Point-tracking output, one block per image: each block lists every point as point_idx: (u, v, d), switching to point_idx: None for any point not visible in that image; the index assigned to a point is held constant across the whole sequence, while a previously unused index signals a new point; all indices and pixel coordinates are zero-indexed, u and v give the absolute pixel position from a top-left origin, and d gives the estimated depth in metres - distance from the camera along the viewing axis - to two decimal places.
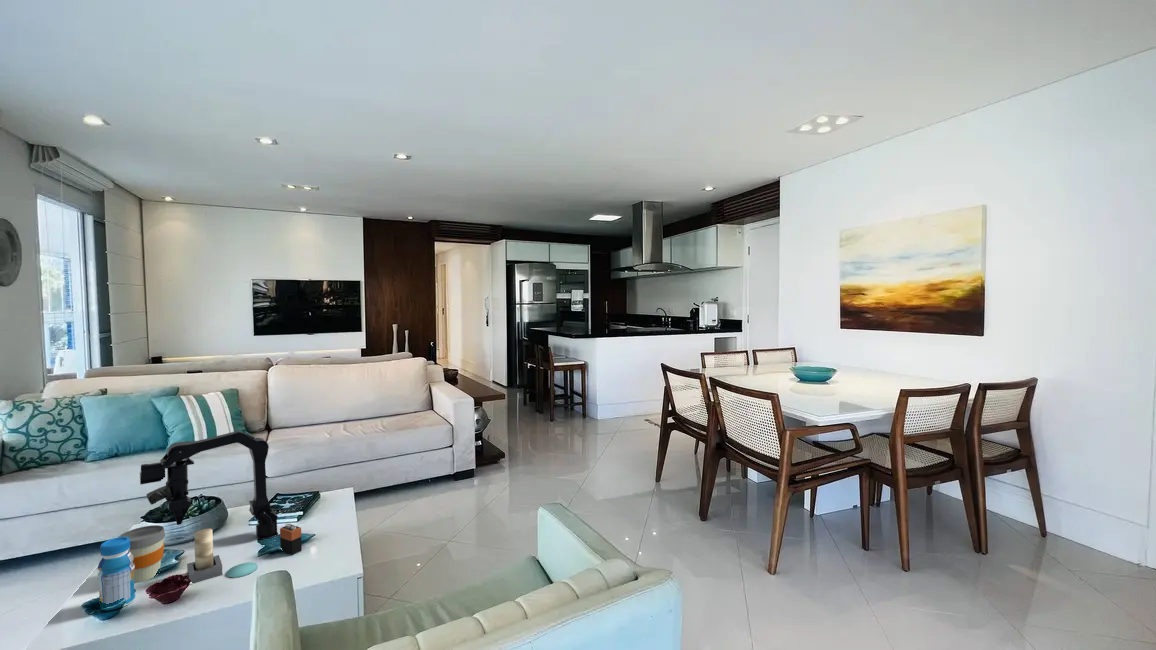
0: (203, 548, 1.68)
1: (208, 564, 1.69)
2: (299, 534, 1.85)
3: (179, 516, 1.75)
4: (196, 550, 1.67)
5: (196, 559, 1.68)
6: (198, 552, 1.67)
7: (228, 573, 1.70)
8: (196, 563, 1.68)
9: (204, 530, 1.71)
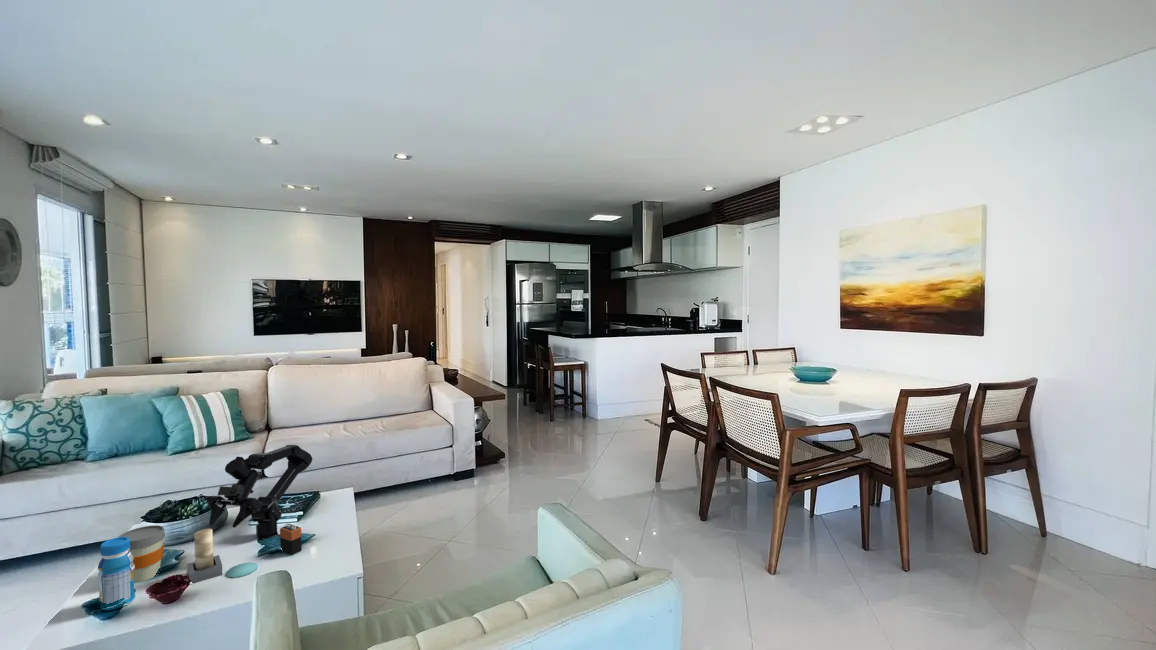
0: (203, 548, 1.68)
1: (208, 564, 1.69)
2: (299, 534, 1.85)
3: (241, 518, 1.79)
4: (196, 550, 1.67)
5: (196, 559, 1.68)
6: (198, 552, 1.67)
7: (228, 573, 1.70)
8: (196, 563, 1.68)
9: (204, 530, 1.71)
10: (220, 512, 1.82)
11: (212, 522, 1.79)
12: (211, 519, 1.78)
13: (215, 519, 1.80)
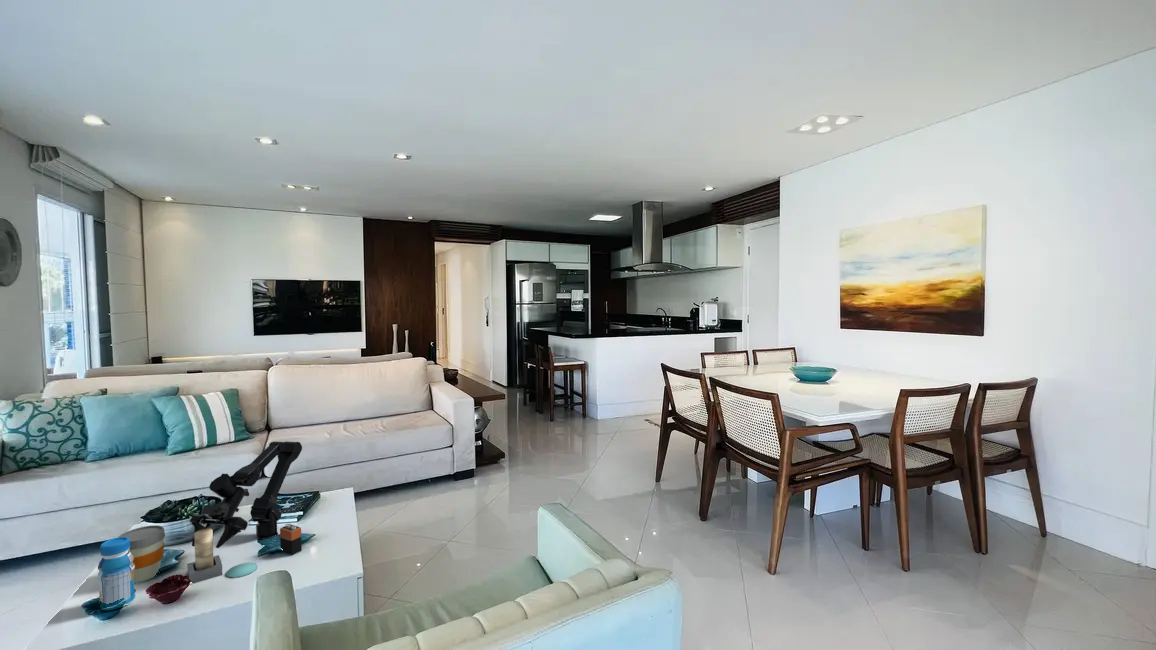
0: (203, 548, 1.68)
1: (208, 564, 1.69)
2: (299, 534, 1.85)
3: (225, 538, 1.72)
4: (196, 550, 1.67)
5: (196, 559, 1.68)
6: (198, 552, 1.67)
7: (228, 573, 1.70)
8: (196, 563, 1.68)
9: (204, 530, 1.71)
10: None
11: None
12: (194, 539, 1.71)
13: None
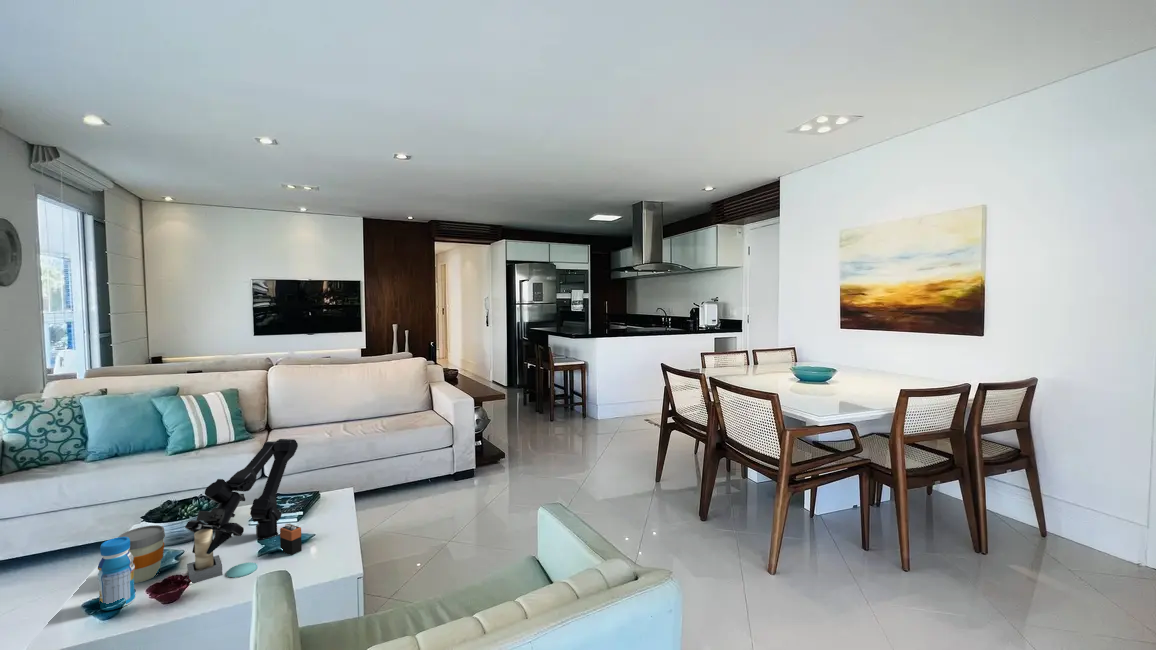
0: (203, 548, 1.68)
1: (208, 564, 1.69)
2: (299, 534, 1.85)
3: (216, 544, 1.70)
4: (196, 550, 1.67)
5: (196, 559, 1.68)
6: (198, 552, 1.67)
7: (228, 573, 1.70)
8: (196, 563, 1.68)
9: (204, 530, 1.71)
10: None
11: None
12: None
13: None
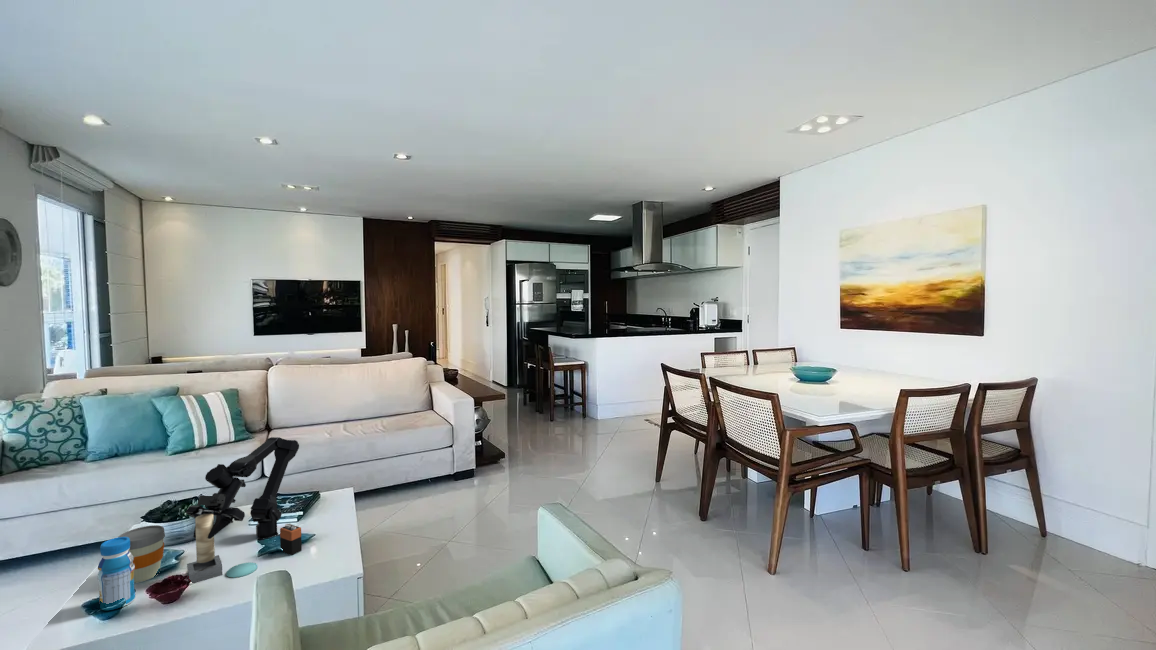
0: (204, 532, 1.68)
1: (209, 549, 1.69)
2: (299, 534, 1.85)
3: (217, 528, 1.70)
4: (197, 535, 1.67)
5: (197, 544, 1.67)
6: (199, 536, 1.67)
7: (228, 573, 1.70)
8: (197, 548, 1.68)
9: (205, 515, 1.70)
10: None
11: None
12: (195, 531, 1.69)
13: None
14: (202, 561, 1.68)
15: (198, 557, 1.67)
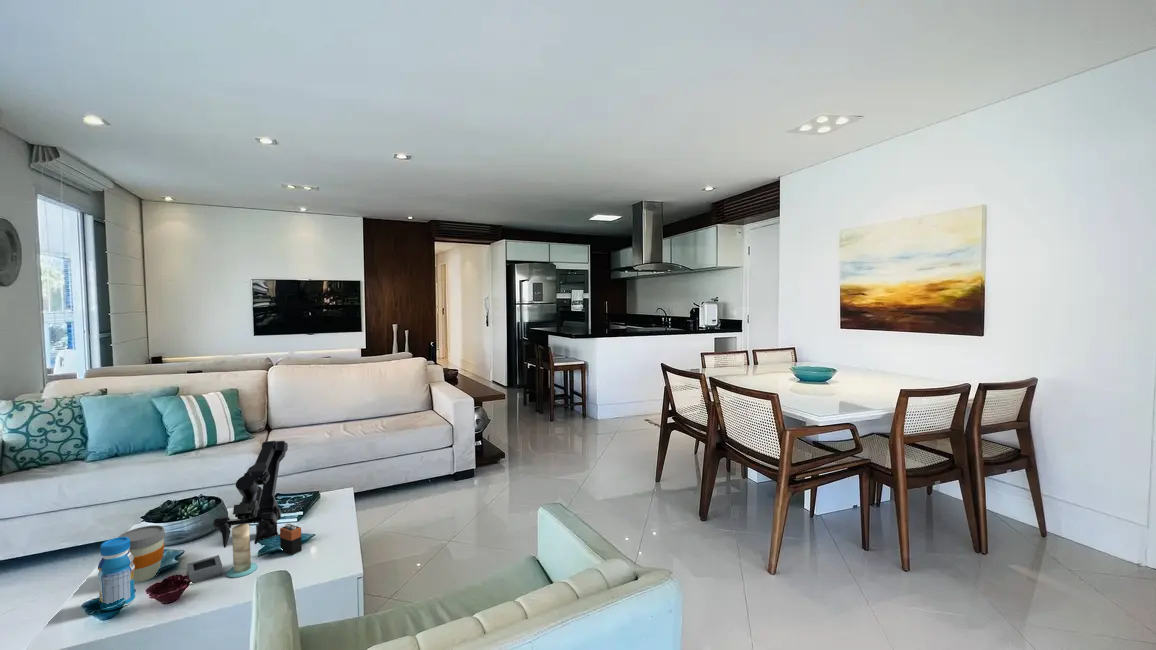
0: (244, 542, 1.71)
1: (248, 558, 1.72)
2: (299, 534, 1.85)
3: (261, 534, 1.75)
4: (237, 545, 1.70)
5: (236, 554, 1.70)
6: (239, 547, 1.70)
7: (228, 573, 1.70)
8: (236, 558, 1.70)
9: (239, 526, 1.73)
10: (228, 533, 1.74)
11: (226, 543, 1.71)
12: (224, 541, 1.70)
13: (227, 540, 1.72)
14: (242, 570, 1.71)
15: (238, 567, 1.70)
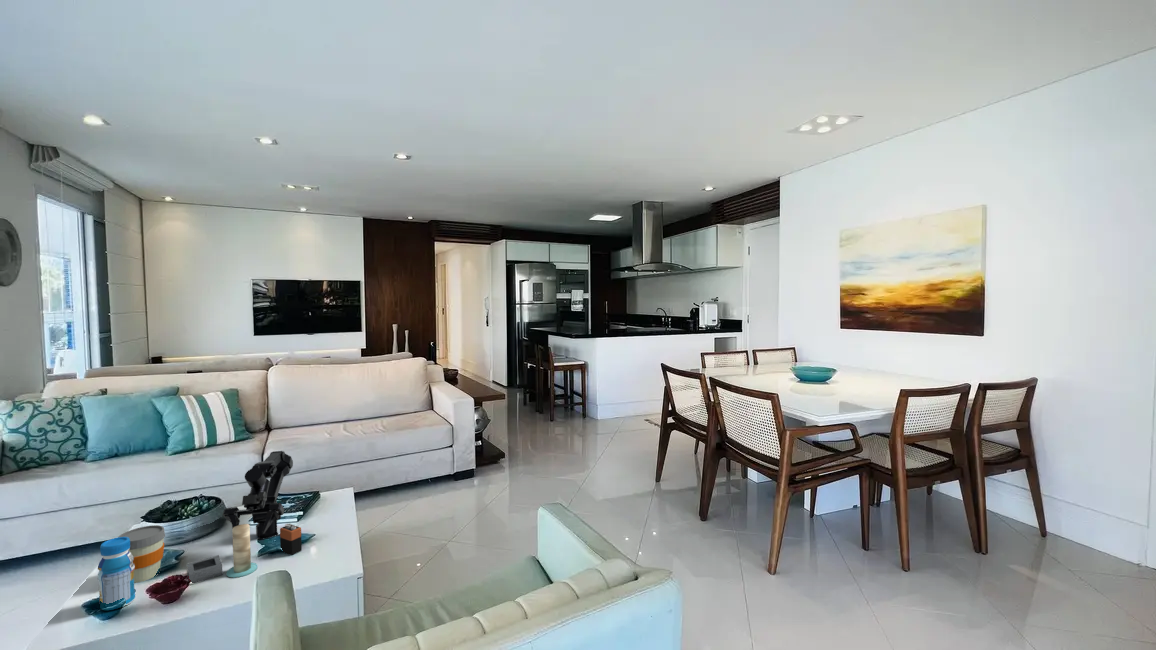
0: (244, 542, 1.71)
1: (248, 558, 1.72)
2: (299, 534, 1.85)
3: (268, 523, 1.83)
4: (237, 545, 1.70)
5: (237, 554, 1.70)
6: (239, 547, 1.70)
7: (228, 573, 1.70)
8: (237, 558, 1.70)
9: (240, 526, 1.73)
10: (238, 523, 1.82)
11: None
12: None
13: None
14: (242, 570, 1.71)
15: (238, 567, 1.70)
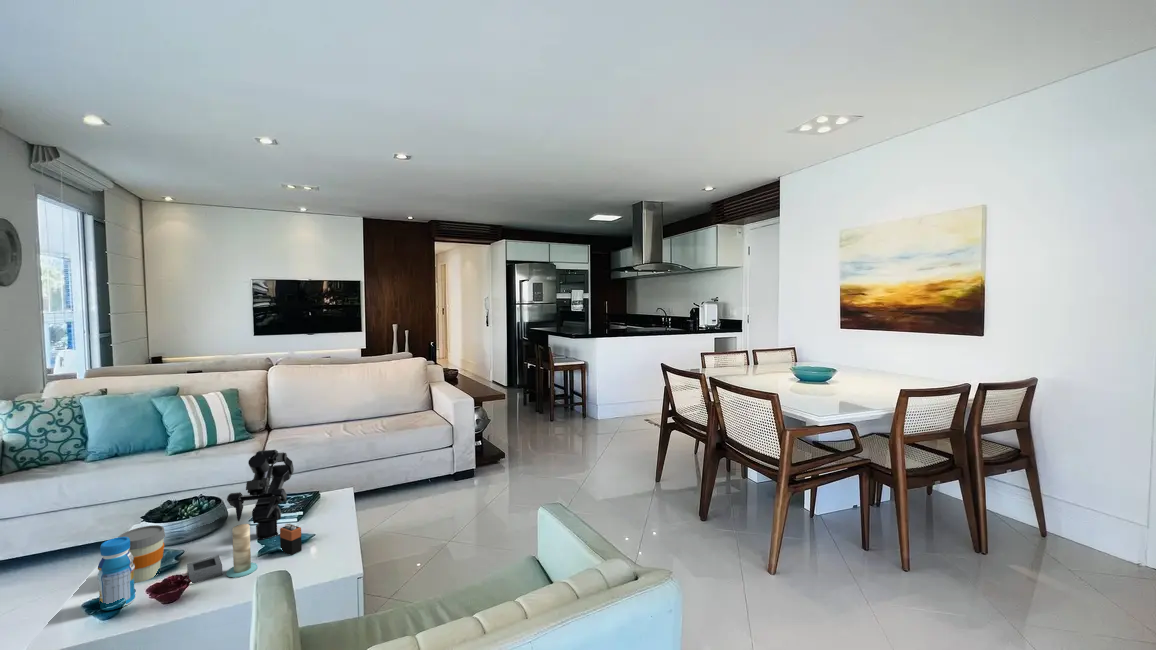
0: (244, 542, 1.71)
1: (248, 558, 1.72)
2: (299, 534, 1.85)
3: (271, 508, 1.86)
4: (237, 545, 1.70)
5: (237, 554, 1.70)
6: (239, 547, 1.70)
7: (228, 573, 1.70)
8: (237, 558, 1.70)
9: (240, 526, 1.73)
10: (241, 508, 1.86)
11: (239, 517, 1.83)
12: (238, 514, 1.82)
13: (240, 514, 1.84)
14: (243, 570, 1.71)
15: (238, 567, 1.70)
